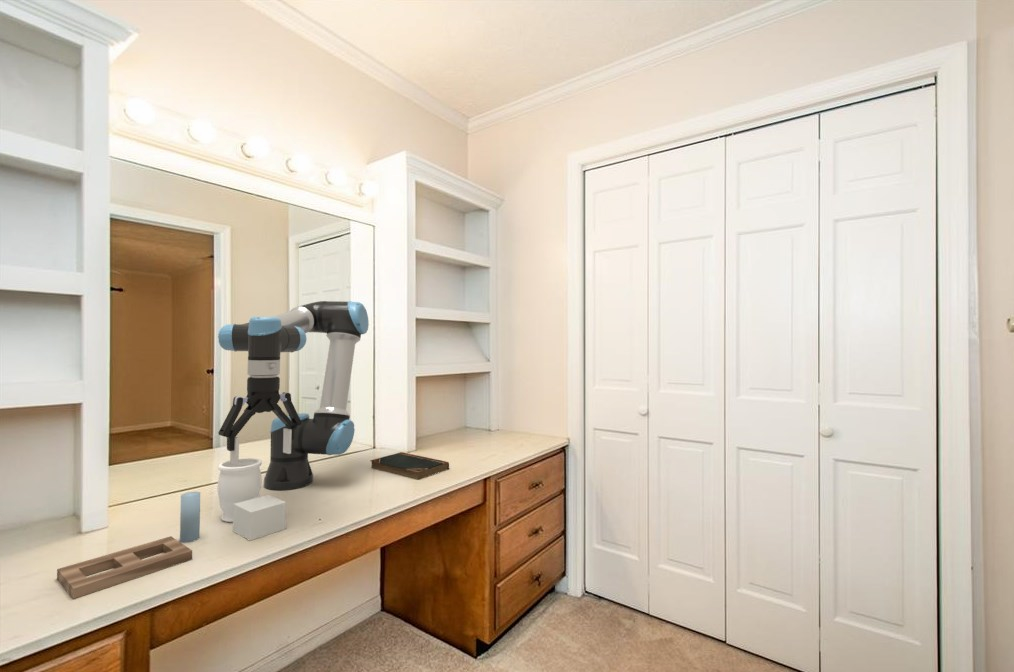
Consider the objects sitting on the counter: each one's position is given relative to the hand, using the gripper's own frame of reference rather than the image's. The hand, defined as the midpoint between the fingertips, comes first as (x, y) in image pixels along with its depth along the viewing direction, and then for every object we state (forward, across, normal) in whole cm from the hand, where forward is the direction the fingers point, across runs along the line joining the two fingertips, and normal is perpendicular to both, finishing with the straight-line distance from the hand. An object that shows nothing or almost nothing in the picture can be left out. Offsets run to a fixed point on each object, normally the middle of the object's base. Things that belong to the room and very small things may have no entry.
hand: (261, 458), depth 121 cm
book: (+19, +63, +12) cm, 67 cm away
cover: (+19, 0, 0) cm, 19 cm away
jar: (+19, +1, +13) cm, 23 cm away
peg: (+19, -13, +8) cm, 24 cm away
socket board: (+19, -27, +2) cm, 33 cm away
